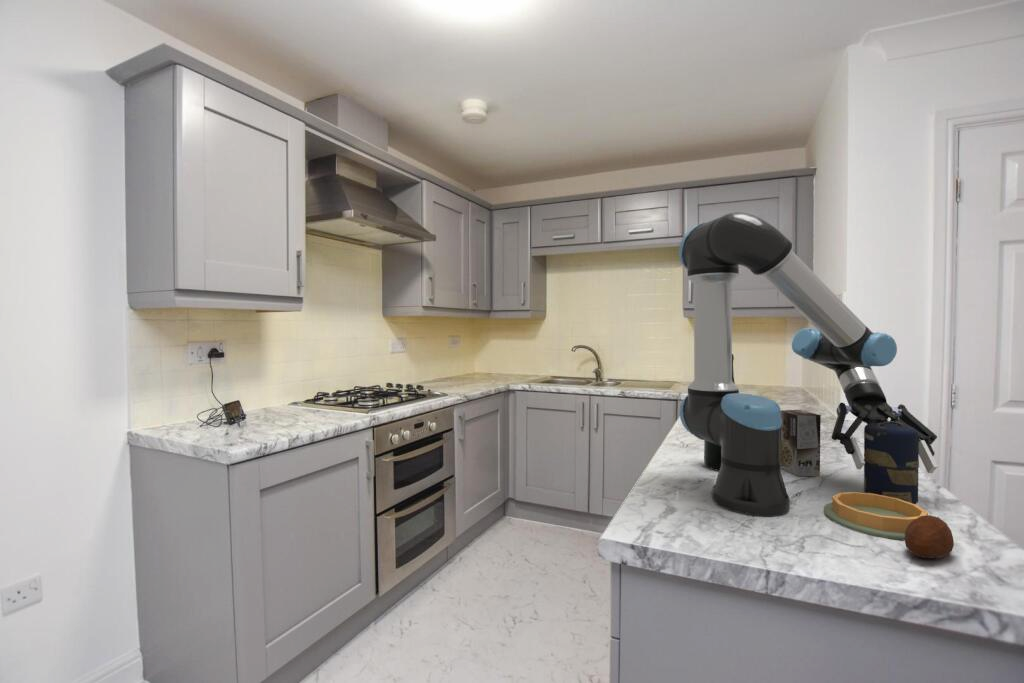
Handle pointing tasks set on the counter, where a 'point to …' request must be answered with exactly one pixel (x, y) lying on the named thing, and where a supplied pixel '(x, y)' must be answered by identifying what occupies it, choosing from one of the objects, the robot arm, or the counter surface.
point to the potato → (929, 537)
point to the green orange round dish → (873, 514)
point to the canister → (891, 460)
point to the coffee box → (800, 442)
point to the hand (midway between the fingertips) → (896, 468)
